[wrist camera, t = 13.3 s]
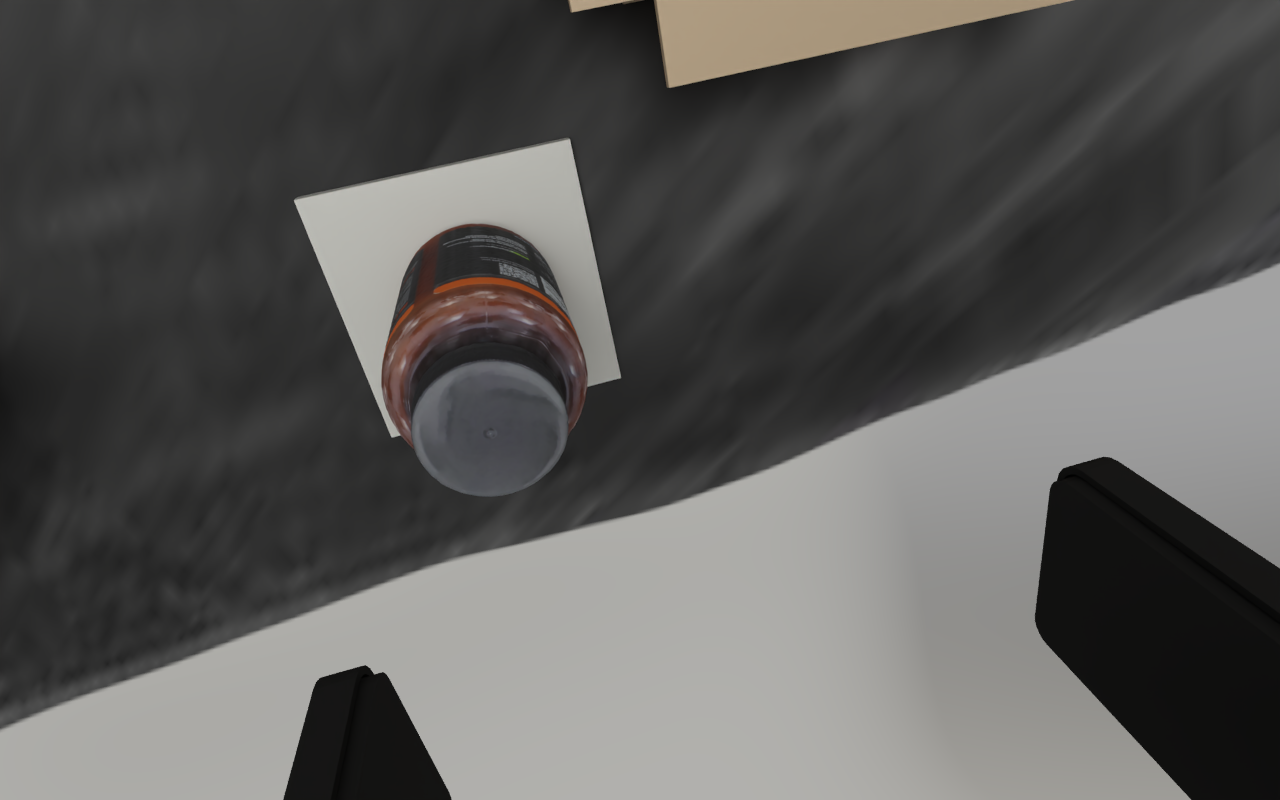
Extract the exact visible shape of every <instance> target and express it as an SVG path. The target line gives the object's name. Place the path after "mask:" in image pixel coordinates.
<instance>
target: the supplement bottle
mask: <svg viewBox="0 0 1280 800" xmlns="http://www.w3.org/2000/svg"><path fill="white" fill-rule="evenodd" d="M587 383H588V372H587V367H586V360H585V356H584V352H583V349H582V347H581V344H580V342H579V339H578V336H577V333H576V330H575V328H574V326H573V323H572V320H571V318H570V315H569V313H568V310H567V308H566V305H565V303H564V300H563V297H562V295H561V292H560V290H559V287H558V284H557V282H556V279H555V277H554V275H553V273H552V271H551V269H550V267H549V265H548V263H547V261H546V260H545V259H544V257H543V256H542V255H541V254H540V252H539V251H538V250H537V249H536V248H535V247H534V245H533V244H532V243H530V242H529V241H527V240H526V239H524V238H523V237H521V236H520V235H518V234H516V233H514V232H513V231H510V230H507V229H505V228H502V227H499V226H494V225H488V224H465V225H460V226H456V227H453V228H450V229H447V230H445V231H443V232H441V233H439V234H437V235H436V236H434V237H433V238H431V239H430V240H429V241H427V242H426V243H425V244H424V245H422V246H421V247H420V249H419V250H418V251H417V252H416V253H415V255H414V257H413V258H412V260H411V262H410V263H409V266H408V268H407V270H406V272H405V275H404V277H403V280H402V283H401V287H400V291H399V296H398V299H397V303H396V307H395V311H394V315H393V319H392V323H391V328H390V331H389V336H388V340H387V343H386V347H385V353H384V358H383V363H382V374H381V387H382V392H383V398H384V402H385V406H386V409H387V411H388V413H389V416H390V418H391V420H392V422H393V424H394V425H395V427H396V429H397V431H398V432H399V433H400V435H401V436H402V437H403V438H404V439H405V440H406V441H407V443H408V444H409V445H410V446H411V447H412V448H413V449H414V450H415V452H416V455H417V457H418V458H419V461H420V462H421V464H422V465H423V466H424V468H425V469H426V470H427V471H428V472H429V473H430V475H431V476H433V477H434V478H435V479H436V480H438V481H439V482H440V483H441V484H443V485H445V486H447V487H449V488H451V489H453V490H456V491H459V492H461V493H464V494H470V495H475V496H484V497H488V496H492V497H494V496H501V495H507V494H511V493H514V492H518V491H520V490H523V489H525V488H527V487H529V486H531V485H533V484H535V483H536V482H537V481H539V480H540V479H541V478H542V477H544V476H545V475H546V474H547V473H548V472H550V471H551V469H552V468H553V467H554V466H555V464H556V463H557V462H558V460H559V459H560V457H561V455H562V453H563V451H564V449H565V446H566V442H567V438H568V435H569V433H570V432H571V430H572V429H573V428H574V427H575V424H576V422H577V421H578V419H579V417H580V415H581V411H582V408H583V405H584V402H585V398H586V393H587Z"/></svg>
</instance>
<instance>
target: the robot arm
mask: <svg viewBox="0 0 1280 800" xmlns="http://www.w3.org/2000/svg"><path fill="white" fill-rule="evenodd" d="M1035 622H1036V626H1037V629H1038V631H1039V634H1040V635H1041V637H1042V639H1043V640H1044V641H1045V642H1046V644H1047V645H1048V646H1049V647H1050V648H1051V649H1052V650H1053V651H1054V653H1055V654H1056V655H1057V656H1058V657H1059V658H1060V659H1061V660H1062V661H1063V662H1064V663H1065V664H1066V665H1067V666H1068V667H1069V669H1070V670H1071V671H1072V672H1073V673H1074V674H1075V675H1076V676H1077V677H1078V678H1079V679H1080V680H1081V682H1082V683H1083V684H1084V685H1085V686H1086V687H1087V688H1088V689H1089V690H1090V691H1091V692H1092V693H1093V694H1094V695H1095V697H1096V698H1097V699H1098V700H1099V701H1100V702H1101V703H1102V704H1103V705H1104V706H1105V707H1106V708H1107V709H1108V711H1109V712H1110V713H1111V714H1112V715H1113V716H1114V717H1115V718H1116V719H1117V720H1118V721H1119V722H1120V723H1121V725H1122V726H1123V727H1124V728H1125V729H1126V730H1127V731H1128V732H1129V733H1130V734H1131V735H1132V736H1133V737H1134V738H1135V740H1136V741H1137V742H1138V743H1139V744H1140V745H1141V746H1142V747H1143V748H1144V749H1145V750H1146V751H1147V753H1148V754H1149V755H1150V756H1151V757H1152V758H1153V759H1154V760H1155V761H1156V762H1157V763H1158V764H1159V765H1160V766H1161V768H1162V769H1163V770H1164V771H1165V772H1166V773H1167V774H1168V775H1169V776H1170V777H1171V778H1172V779H1173V780H1174V782H1175V783H1176V784H1177V785H1178V786H1179V787H1180V788H1181V789H1182V790H1183V791H1184V792H1185V793H1186V794H1187V795H1188V797H1189V798H1190V799H1191V800H1280V568H1278V567H1277V566H1275V565H1274V564H1272V563H1271V562H1269V561H1268V560H1266V559H1265V558H1263V557H1262V556H1260V555H1258V554H1257V553H1256V552H1254V551H1253V550H1251V549H1250V548H1248V547H1246V546H1245V545H1244V544H1242V543H1241V542H1239V541H1238V540H1236V539H1234V538H1233V537H1231V536H1230V535H1228V534H1227V533H1225V532H1224V531H1222V530H1221V529H1219V528H1218V527H1216V526H1215V525H1213V524H1212V523H1210V522H1209V521H1207V520H1206V519H1204V518H1203V517H1201V516H1200V515H1198V514H1196V513H1195V512H1194V511H1192V510H1191V509H1189V508H1188V507H1186V506H1185V505H1183V504H1182V503H1180V502H1179V501H1177V500H1176V499H1174V498H1172V497H1171V496H1170V495H1168V494H1167V493H1165V492H1164V491H1162V490H1161V489H1159V488H1158V487H1156V486H1155V485H1153V484H1152V483H1150V482H1148V481H1147V480H1145V479H1144V478H1142V477H1141V476H1139V475H1138V474H1136V473H1135V472H1133V471H1132V470H1130V469H1129V468H1127V467H1126V466H1124V465H1123V464H1121V463H1120V462H1118V461H1116V460H1114V459H1112V458H1109V457H1102V458H1098V459H1094V460H1091V461H1087V462H1083V463H1080V464H1076V465H1073V466H1069V467H1066V468H1063V469H1062V471H1061V472H1060V473H1059V475H1058V479H1057V481H1056V482H1054V483H1053V484H1052V485H1051V488H1050V494H1049V502H1048V511H1047V519H1046V528H1045V536H1044V545H1043V553H1042V561H1041V570H1040V579H1039V587H1038V595H1037V603H1036V613H1035ZM284 800H451V796H450V794H449V791H448V789H447V788H446V786H445V784H444V782H443V780H442V778H441V776H440V774H439V772H438V771H437V769H436V767H435V765H434V763H433V761H432V759H431V757H430V755H429V754H428V751H427V750H426V748H425V746H424V744H423V742H422V740H421V738H420V736H419V734H418V732H417V731H416V729H415V727H414V725H413V723H412V721H411V719H410V717H409V715H408V714H407V712H406V710H405V708H404V706H403V704H402V702H401V700H400V699H399V696H398V695H397V693H396V691H395V689H394V687H393V685H392V683H391V681H390V679H389V678H388V676H387V675H386V674H385V673H383V672H382V673H378V674H375V675H374V674H373V672H372V671H371V669H370V668H369V667H367V666H366V665H365V666H360V667H357V668H353V669H350V670H346V671H343V672H339V673H336V674H332V675H329V676H325V677H322V678H320V679H319V680H318V681H317V682H316V684H315V687H314V689H313V692H312V696H311V700H310V703H309V707H308V711H307V714H306V718H305V722H304V726H303V729H302V733H301V736H300V740H299V744H298V747H297V751H296V755H295V759H294V762H293V766H292V770H291V773H290V777H289V781H288V785H287V788H286V792H285V795H284Z"/></svg>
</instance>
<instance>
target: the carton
mask: <svg viewBox="0 0 1280 800" xmlns="http://www.w3.org/2000/svg"><path fill="white" fill-rule="evenodd" d="M638 1H643V0H568V2H569V7H570V12H571V13H572V12H577V11H582V10H587V9H592V8H597V7H602V6H607V5H612V4H617V3H621V2H623V4H628V3H633V2H638ZM1068 1H1072V0H654V4H655V11H656V18H657V25H658V31H659V38H660V45H661V52H662V59H663V65H664V72H665V79H666V86H667V88H671V87H676V86H680V85H685V84H689V83H694V82H699V81H703V80H708V79H712V78H717V77H722V76H726V75H731V74H736V73H740V72H745V71H749V70H754V69H759V68H763V67H768V66H772V65H777V64H782V63H786V62H791V61H795V60H800V59H805V58H809V57H814V56H819V55H823V54H828V53H832V52H837V51H842V50H846V49H851V48H855V47H860V46H865V45H869V44H874V43H879V42H883V41H888V40H892V39H897V38H902V37H906V36H911V35H915V34H920V33H925V32H929V31H934V30H938V29H943V28H948V27H952V26H957V25H962V24H966V23H971V22H975V21H980V20H985V19H989V18H994V17H998V16H1003V15H1008V14H1012V13H1017V12H1021V11H1026V10H1031V9H1035V8H1040V7H1045V6H1049V5H1054V4H1058V3H1063V2H1068Z"/></svg>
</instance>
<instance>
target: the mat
mask: <svg viewBox="0 0 1280 800" xmlns="http://www.w3.org/2000/svg"><path fill="white" fill-rule="evenodd" d="M294 202H295V204H296V207H297V209H298V212H299V214H300V216H301V219H302V221H303V224H304V226H305V229H306V231H307V233H308V236H309V238H310V241H311V243H312V246H313V248H314V250H315V253H316V255H317V258H318V260H319V263H320V265H321V267H322V270H323V272H324V275H325V277H326V280H327V282H328V284H329V287H330V289H331V292H332V294H333V297H334V299H335V301H336V304H337V306H338V309H339V311H340V314H341V316H342V318H343V321H344V323H345V326H346V328H347V331H348V333H349V335H350V338H351V340H352V343H353V345H354V347H355V350H356V352H357V355H358V357H359V360H360V362H361V364H362V367H363V369H364V372H365V374H366V377H367V379H368V381H369V384H370V386H371V389H372V391H373V394H374V396H375V398H376V401H377V403H378V406H379V408H380V411H381V413H382V415H383V418H384V420H385V423H386V425H387V428H388V430H389V432H390V435H391V437H396V436H400V433H399V432H398V431H397V429H396V427H395V425H394V424H393V422H392V420H391V418H390V416H389V413H388V411H387V409H386V406H385V402H384V398H383V392H382V387H381V374H382V363H383V358H384V353H385V347H386V343H387V340H388V336H389V331H390V328H391V323H392V319H393V315H394V311H395V307H396V303H397V299H398V296H399V291H400V287H401V283H402V280H403V277H404V275H405V272H406V270H407V268H408V266H409V263H410V262H411V260H412V258H413V257H414V255H415V253H416V252H417V251H418V250H419V249H420V247H421V246H422V245H424V244H425V243H426V242H427V241H429V240H430V239H431V238H433V237H434V236H436V235H437V234H439V233H441V232H443V231H445V230H447V229H450V228H453V227H456V226H460V225H465V224H488V225H494V226H499V227H502V228H505V229H507V230H510V231H513V232H514V233H516V234H518V235H520V236H521V237H523V238H524V239H526V240H527V241H529V242H530V243H532V244H533V245H534V247H535V248H536V249H537V250H538V251H539V252H540V254H541V255H542V256H543V257H544V259H545V260H546V261H547V263H548V265H549V267H550V269H551V271H552V273H553V275H554V277H555V279H556V282H557V284H558V287H559V290H560V292H561V295H562V297H563V300H564V303H565V305H566V308H567V310H568V313H569V315H570V318H571V320H572V323H573V326H574V328H575V330H576V333H577V336H578V339H579V342H580V344H581V347H582V349H583V352H584V356H585V360H586V367H587V372H588V383H587V387H588V386H592V385H596V384H600V383H604V382H607V381H611V380H615V379H619V378H621V375H620V370H619V365H618V361H617V356H616V351H615V347H614V342H613V337H612V333H611V328H610V324H609V319H608V314H607V310H606V305H605V300H604V296H603V291H602V286H601V282H600V277H599V272H598V268H597V263H596V258H595V254H594V249H593V245H592V240H591V235H590V231H589V226H588V221H587V217H586V212H585V207H584V203H583V198H582V193H581V189H580V184H579V179H578V175H577V170H576V166H575V161H574V156H573V152H572V147H571V142H570V139H569V138H568V137H567V138H562V139H558V140H553V141H549V142H544V143H540V144H535V145H531V146H526V147H522V148H517V149H513V150H508V151H504V152H499V153H495V154H490V155H485V156H481V157H476V158H472V159H467V160H463V161H458V162H454V163H449V164H445V165H440V166H436V167H431V168H427V169H422V170H418V171H413V172H409V173H404V174H400V175H395V176H390V177H386V178H381V179H377V180H372V181H368V182H363V183H359V184H354V185H350V186H345V187H341V188H336V189H332V190H327V191H323V192H318V193H314V194H309V195H305V196H300V197H297V198H296V199H295V200H294Z"/></svg>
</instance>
